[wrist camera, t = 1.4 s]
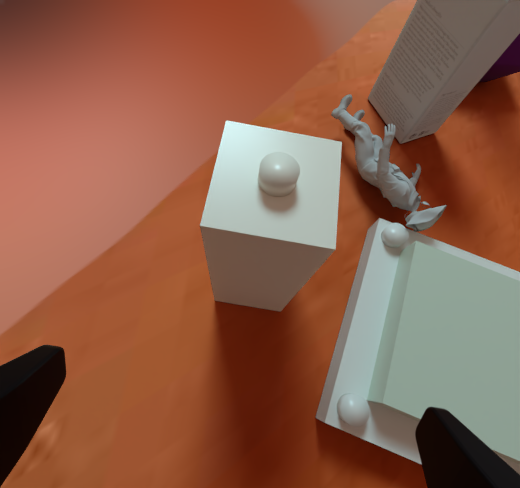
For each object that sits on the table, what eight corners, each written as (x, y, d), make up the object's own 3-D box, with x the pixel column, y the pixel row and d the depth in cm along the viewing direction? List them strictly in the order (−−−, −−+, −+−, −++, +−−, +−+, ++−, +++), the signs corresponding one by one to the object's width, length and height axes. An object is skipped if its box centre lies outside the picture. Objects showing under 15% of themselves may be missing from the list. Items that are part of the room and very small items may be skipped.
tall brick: (280, 311, 22) (342, 241, 10) (214, 300, 21) (198, 216, 10) (288, 250, 23) (348, 129, 12) (227, 239, 23) (226, 106, 12)
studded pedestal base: (536, 513, 18) (613, 549, 15) (315, 417, 19) (336, 428, 16) (541, 297, 24) (599, 283, 20) (368, 229, 25) (392, 204, 21)
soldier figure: (375, 126, 30) (484, 200, 23) (340, 166, 32) (432, 246, 25) (337, 80, 24) (466, 159, 17) (297, 132, 26) (400, 223, 19)
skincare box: (435, 133, 29) (562, -11, 18) (398, 146, 28) (508, 1, 17) (401, 87, 31) (496, -69, 20) (365, 97, 30) (444, -62, 19)
